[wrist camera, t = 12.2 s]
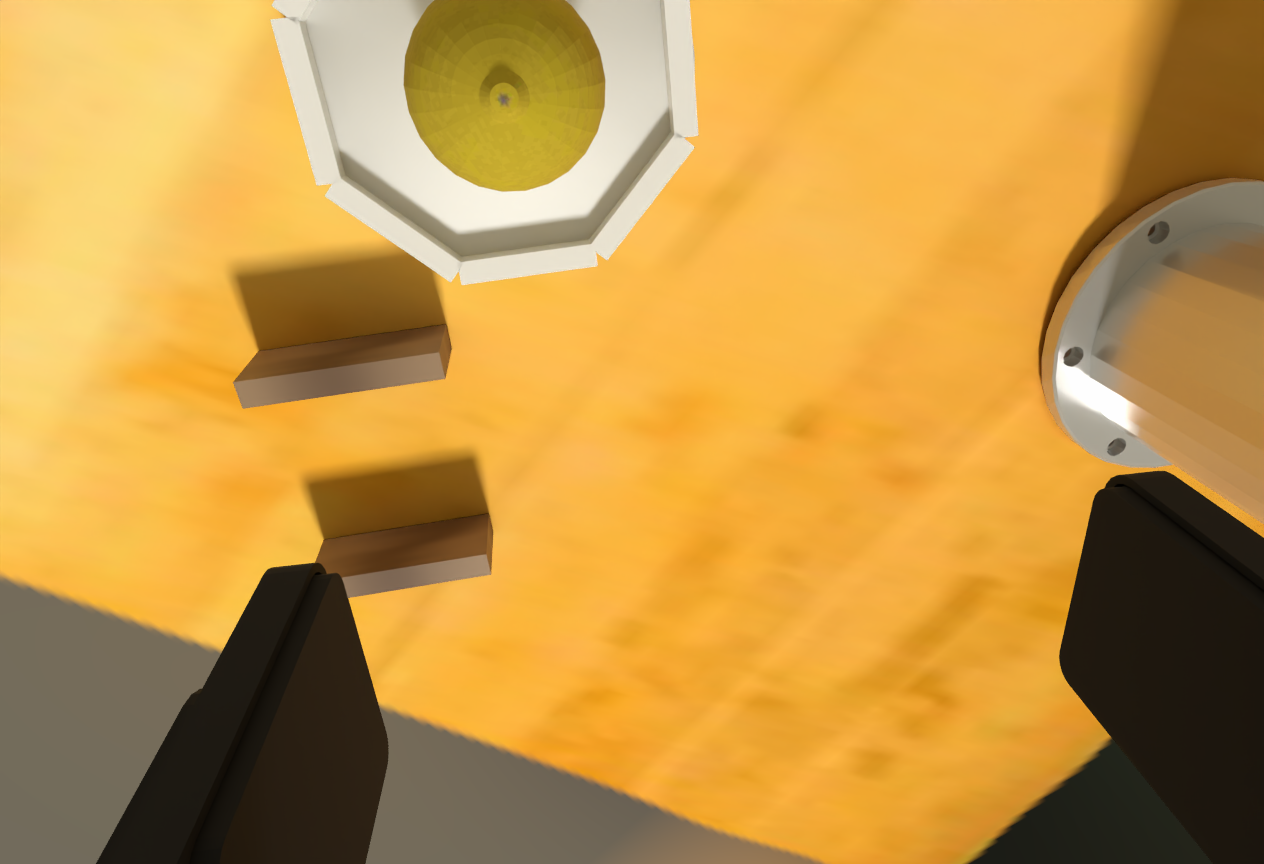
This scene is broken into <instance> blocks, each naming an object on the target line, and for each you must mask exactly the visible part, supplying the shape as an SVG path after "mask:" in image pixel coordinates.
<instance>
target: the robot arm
mask: <svg viewBox="0 0 1264 864" xmlns="http://www.w3.org/2000/svg"><path fill="white" fill-rule="evenodd" d="M1042 386H1043V390H1044V395H1045V399H1046V403H1047V406H1048V408H1049V410H1050V412H1051V414H1052V416H1053V418H1054V420H1055V422H1056V424H1057V425H1058V426H1059V427H1060V428H1061V429H1062V430H1063V432H1064V433H1065V434H1066V435H1067V436H1068V437H1069V438H1070V439H1071V440H1072V441H1074V442H1075V443H1076V444H1078V445H1079V446H1081V447H1082V448H1083V449H1085V450H1086V451H1087V452H1088V453H1090V454H1092V455H1094V456H1095V457H1097V458H1099V459H1101V460H1103V461H1106V462H1108V463H1112V464H1117V465H1122V466H1126V467H1131V468H1156V467H1162V466H1168V465H1175V466H1176V467H1178V468H1179V469H1181V470H1182V471H1184V472H1185V473H1187V474H1188V475H1190V476H1191V477H1193V478H1195V479H1196V480H1198V481H1199V482H1201V483H1202V484H1204V485H1205V486H1207V487H1208V488H1210V489H1211V490H1213V491H1214V492H1216V493H1217V494H1219V495H1220V496H1222V497H1223V498H1225V499H1226V500H1228V501H1229V502H1231V503H1232V504H1234V505H1235V506H1237V507H1238V508H1240V509H1241V510H1243V511H1245V512H1246V513H1248V514H1249V515H1251V516H1252V517H1254V518H1255V519H1257V520H1258V521H1260V522H1261V523H1263V524H1264V181H1261V180H1254V179H1241V178H1225V179H1218V180H1211V181H1204V182H1200V183H1197V184H1194V185H1191V186H1188V187H1185V188H1182V189H1179V190H1176V191H1173V192H1171V193H1169V194H1167V195H1165V196H1163V197H1161V198H1159V199H1157V200H1156V201H1154V202H1152V203H1150V204H1148V205H1146V206H1144V207H1143V208H1141V209H1140V210H1139V211H1137V212H1136V213H1134V214H1133V215H1132V216H1130V217H1129V218H1128V219H1126V220H1125V221H1124V222H1122V223H1121V224H1120V225H1118V226H1117V227H1116V228H1115V229H1114V230H1113V231H1112V232H1111V233H1110V234H1109V235H1107V236H1106V237H1105V238H1104V239H1103V240H1102V241H1101V242H1100V243H1099V244H1098V245H1097V246H1096V247H1095V248H1094V249H1093V250H1092V251H1091V253H1090V254H1089V255H1088V257H1087V258H1086V259H1085V261H1084V262H1083V263H1082V264H1081V266H1080V267H1079V268H1078V270H1077V271H1076V272H1075V274H1074V275H1073V276H1072V278H1071V280H1070V281H1069V283H1068V285H1067V287H1066V288H1065V290H1064V292H1063V294H1062V296H1061V297H1060V299H1059V301H1058V303H1057V305H1056V307H1055V310H1054V313H1053V316H1052V318H1051V321H1050V324H1049V326H1048V329H1047V332H1046V337H1045V342H1044V348H1043V353H1042ZM1059 659H1060V666H1061V670H1062V673H1063V675H1064V677H1065V679H1066V681H1067V682H1068V684H1069V685H1070V686H1071V688H1072V689H1073V690H1074V691H1075V693H1076V694H1077V695H1078V696H1079V698H1080V699H1081V700H1082V701H1083V703H1084V704H1085V705H1086V706H1087V707H1088V709H1089V710H1090V711H1091V712H1092V714H1093V715H1094V716H1095V717H1096V719H1097V720H1098V721H1099V722H1100V724H1101V725H1102V726H1103V727H1104V729H1105V730H1106V731H1107V732H1108V734H1109V735H1110V736H1111V737H1112V739H1113V740H1114V741H1115V742H1116V744H1117V745H1118V746H1119V747H1120V748H1121V750H1122V751H1123V752H1124V753H1125V755H1126V756H1127V757H1128V758H1129V760H1130V761H1131V762H1132V763H1133V765H1134V766H1135V767H1136V768H1137V770H1138V771H1139V772H1140V773H1141V775H1142V776H1143V777H1144V778H1145V780H1146V781H1147V782H1148V783H1149V785H1150V786H1151V787H1152V788H1153V790H1154V791H1155V792H1156V793H1157V795H1158V796H1159V797H1160V798H1161V800H1162V801H1163V802H1164V803H1165V804H1166V806H1167V807H1168V808H1169V809H1170V811H1171V812H1172V813H1173V814H1174V816H1175V817H1176V818H1177V819H1178V820H1179V822H1180V823H1181V824H1182V826H1183V827H1184V828H1185V829H1186V831H1187V832H1188V833H1189V834H1190V836H1191V837H1192V838H1193V839H1194V841H1195V842H1196V843H1197V844H1198V846H1199V847H1200V848H1201V849H1202V851H1203V852H1204V853H1205V854H1206V856H1207V857H1208V858H1209V859H1210V860H1211V862H1212V863H1213V864H1264V538H1263V537H1262V536H1260V535H1259V534H1257V533H1256V532H1254V531H1253V530H1252V529H1250V528H1249V527H1247V526H1246V525H1244V524H1243V523H1242V522H1240V521H1239V520H1237V519H1236V518H1234V517H1233V516H1232V515H1230V514H1229V513H1227V512H1226V511H1224V510H1223V509H1221V508H1220V507H1219V506H1217V505H1216V504H1214V503H1213V502H1211V501H1210V500H1209V499H1207V498H1206V497H1204V496H1203V495H1201V494H1200V493H1199V492H1197V491H1196V490H1194V489H1193V488H1191V487H1190V486H1189V485H1187V484H1186V483H1184V482H1183V481H1181V480H1180V479H1179V478H1177V477H1176V476H1174V475H1173V474H1170V473H1168V472H1166V471H1153V472H1144V473H1134V474H1125V475H1117V476H1115V477H1113V478H1111V479H1110V480H1109V481H1108V483H1107V484H1106V486H1105V488H1104V489H1101V490H1099V491H1098V492H1097V494H1096V495H1095V498H1094V500H1093V504H1092V509H1091V513H1090V518H1089V522H1088V527H1087V531H1086V536H1085V540H1084V545H1083V549H1082V554H1081V558H1080V563H1079V567H1078V572H1077V576H1076V581H1075V585H1074V590H1073V594H1072V599H1071V603H1070V608H1069V612H1068V617H1067V621H1066V626H1065V630H1064V635H1063V639H1062V644H1061V648H1060V655H1059ZM387 764H388V738H387V734H386V730H385V726H384V723H383V719H382V716H381V712H380V709H379V705H378V702H377V698H376V695H375V691H374V688H373V684H372V681H371V677H370V674H369V670H368V667H367V663H366V660H365V656H364V653H363V649H362V646H361V642H360V639H359V635H358V632H357V628H356V624H355V621H354V617H353V614H352V610H351V607H350V603H349V600H348V596H347V593H346V589H345V586H344V583H343V580H342V578H341V576H340V575H339V574H338V573H330V574H327V573H326V570H325V568H324V567H323V566H322V564H320V563H309V564H300V565H291V566H282V567H273V568H270V569H268V570H267V571H266V572H265V573H264V575H263V577H262V578H261V580H260V582H259V584H258V586H257V588H256V590H255V591H254V593H253V595H252V597H251V599H250V601H249V603H248V605H247V606H246V608H245V610H244V612H243V614H242V616H241V618H240V619H239V621H238V623H237V625H236V627H235V629H234V631H233V632H232V634H231V636H230V638H229V640H228V642H227V644H226V646H225V647H224V649H223V651H222V653H221V655H220V657H219V659H218V661H217V662H216V664H215V666H214V668H213V670H212V672H211V674H210V676H209V677H208V679H207V681H206V683H205V685H204V687H203V688H202V689H199V690H198V691H197V692H195V693H193V694H192V695H191V696H190V697H189V699H188V700H187V701H186V703H185V704H184V705H183V707H182V709H181V711H180V712H179V714H178V716H177V718H176V720H175V722H174V723H173V725H172V727H171V729H170V731H169V732H168V734H167V736H166V738H165V740H164V741H163V743H162V745H161V747H160V749H159V750H158V752H157V754H156V756H155V758H154V760H153V761H152V763H151V765H150V767H149V769H148V770H147V772H146V774H145V776H144V778H143V780H142V781H141V783H140V785H139V787H138V789H137V791H136V792H135V794H134V796H133V798H132V800H131V801H130V803H129V805H128V807H127V808H126V810H125V812H124V814H123V816H122V818H121V819H120V821H119V823H118V825H117V827H116V829H115V830H114V832H113V834H112V836H111V837H110V839H109V841H108V843H107V845H106V847H105V848H104V850H103V852H102V854H101V856H100V858H99V860H98V861H97V863H96V864H365V863H366V858H367V853H368V849H369V845H370V840H371V836H372V831H373V827H374V823H375V818H376V813H377V809H378V805H379V801H380V796H381V792H382V787H383V783H384V778H385V773H386V769H387Z"/></svg>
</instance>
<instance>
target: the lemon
mask: <svg viewBox="0 0 1264 864" xmlns="http://www.w3.org/2000/svg"><path fill="white" fill-rule="evenodd" d="M403 85H404V90H405V95H406V100H407V106H408V111H409V114H410V116H411V118H412V120H413V123H414V125H415V127H416V130H417V132H418V134H419V136H420V138H421V139H422V141H423V142H424V143H425V145H426V146H427V147H428V149H429V150H430V151H431V153H432V154H433V155H434V157H435V158H436V159H437V160H438V161H439V162H441V163H442V164H443V165H444V166H445V167H447V168H448V169H449V170H450V171H451V172H453V173H454V174H455V175H457V176H459V177H461V178H463V179H465V180H467V181H469V182H471V183H473V184H475V185H477V186H479V187H483V188H488V189H492V190H497V191H501V192H508V191H527V190H530V189H534V188H537V187H540V186H543V185H547V184H549V183H551V182H553V181H554V180H556V179H557V178H559V177H561V176H562V175H564V174H566V173H567V172H569V171H570V170H571V169H572V168H573V166H574V165H575V164H576V163H577V162H578V161H579V160H580V159H581V158H582V157H583V156H584V155H585V154H586V152H587V150H588V148H589V146H590V145H591V143H592V141H593V139H594V137H595V136H596V134H597V132H598V129H599V125H600V121H601V118H602V114H603V111H604V107H605V75H604V70H603V65H602V60H601V55H600V52H599V49H598V47H597V45H596V43H595V40H594V38H593V36H592V34H591V31H590V29H589V27H588V26H587V25H586V23H585V22H584V21H583V19H582V18H581V17H580V16H579V14H578V13H577V12H576V10H575V9H574V8H573V7H572V5H570V4H569V3H568V2H567V1H565V0H434V1H433V2H432V3H431V4H430V5H429V6H428V7H427V8H426V10H425V11H424V13H423V15H422V16H421V18H420V19H419V21H418V23H417V24H416V26H415V27H414V29H413V31H412V35H411V38H410V41H409V44H408V48H407V51H406V54H405V64H404V84H403Z"/></svg>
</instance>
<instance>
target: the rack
mask: <svg viewBox="0 0 1264 864" xmlns="http://www.w3.org/2000/svg"><path fill="white" fill-rule="evenodd" d="M451 349H452V348H451V344H450V339H449V335H448V330H447V326H446V324H444V325H437V326H430V327H423V328H417V329H410V330H403V331H396V332H389V333H382V334H375V335H368V336H361V337H354V338H347V339H340V340H333V341H326V342H319V343H312V344H305V345H298V346H291V347H284V348H277V349H270V350H263V351H258V353H257V354H256V355H255V356H254V357H253V359H252V360H251V361H250V362H249V364H248V365H247V366H246V367H245V368H244V370H243V371H242V372H241V373H240V375H239V376H238V377H237V378H236V379H235V381H234V382H233V383H234V386H235V389H236V391H237V394H238V397H239V399H240V402H241V405H242V408H243V409H244V408H250V407H257V406H264V405H271V404H278V403H284V402H291V401H298V400H305V399H311V398H318V397H325V396H332V395H339V394H345V393H352V392H359V391H366V390H372V389H379V388H386V387H393V386H400V385H406V384H413V383H420V382H427V381H433V380H440V379H445V377H446V373H447V368H448V363H449V359H450V354H451ZM492 547H493V530H492V525H491V521H490V516H489V514H483V515H477V516H471V517H465V518H458V519H452V520H446V521H439V522H433V523H427V524H420V525H414V526H408V527H402V528H395V529H389V530H383V531H376V532H370V533H364V534H358V535H351V536H345V537H339V538H332V539H326V540H324V541H323V544H322V546H321V549H320V551H319V554H318V557H317V559H316V562H315V563H320V564H322V566H323V567H324V568H325V570H326V573H327V574H330V573H338V574H339V575H340V576H341V578H342V580H343V583H344V586H345V589H346V593H347V596H348V598H350V597H357V596H363V595H369V594H375V593H381V592H387V591H393V590H399V589H405V588H412V587H418V586H424V585H430V584H436V583H442V582H448V581H454V580H460V579H466V578H473V577H479V576H485V575H491V566H492Z"/></svg>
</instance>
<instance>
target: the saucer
mask: <svg viewBox="0 0 1264 864" xmlns="http://www.w3.org/2000/svg"><path fill="white" fill-rule="evenodd" d="M433 1H434V0H274V2H273V4H272V6H273V7H274V8H276V9H277V10H278V11H279V12H281V13H282V14H283V15H285V16H286V18H280V19H272V20H270V21H271V24H272V28H273V31H274V35H275V38H276V42H277V46H278V49H279V53H280V56H281V60H282V63H283V67H284V70H285V74H286V78H287V81H288V85H289V88H290V92H291V95H292V99H293V102H294V106H295V110H296V113H297V117H298V120H299V124H300V127H301V131H302V135H303V138H304V142H305V145H306V149H307V152H308V156H309V159H310V163H311V167H312V170H313V174H314V177H315V181H316V184H317V185H325V184H332V185H331V187H330V188H329V190H328V192H327V193H326V195H325V197H327V198H328V199H330V200H331V201H332V202H334V203H335V204H337V205H338V206H340V207H341V208H343V209H344V210H346V211H347V212H349V213H350V214H351V215H353V216H354V217H356V218H357V219H359V220H360V221H362V222H363V223H365V224H366V225H368V226H369V227H370V228H372V229H373V230H375V231H376V232H378V233H379V234H381V235H382V236H384V237H385V238H387V239H388V240H390V241H391V242H392V243H394V244H395V245H397V246H398V247H400V248H401V249H403V250H404V251H406V252H407V253H409V254H410V255H411V256H413V257H414V258H416V259H417V260H419V261H420V262H422V263H423V264H425V265H426V266H428V267H429V268H430V269H432V270H433V271H435V272H436V273H438V274H439V275H441V276H442V277H444V278H445V279H447V280H448V281H449V282H451V281H452V280H453V278H454V277H455V276H456V274H457V273H458V271H459V274H460V279H461V284H462V285H466V284H473V283H480V282H487V281H495V280H502V279H509V278H516V277H523V276H530V275H537V274H544V273H552V272H559V271H566V270H573V269H580V268H587V267H594V266H598V265H597V257H596V252H597V253H598V254H599V255H601V256H602V257H603V258H604V259H606V260H608V259H609V257H610V256H611V255H612V253H613V252H614V251H615V250H616V248H617V247H618V246H619V244H620V243H621V242H622V241H623V239H624V238H625V237H626V235H627V234H628V233H629V232H630V230H631V229H632V228H633V226H634V225H635V224H636V222H637V221H638V220H639V219H640V217H641V216H642V215H643V213H644V212H645V211H646V210H647V208H648V207H649V206H650V205H651V204H652V202H653V201H654V199H655V198H656V197H657V195H658V194H659V193H660V192H661V190H662V189H663V188H664V186H665V185H666V184H667V182H668V181H669V180H670V179H671V177H672V176H673V175H674V173H675V172H676V171H677V170H678V168H679V167H680V166H681V164H682V163H683V162H684V161H685V159H686V158H687V157H688V155H689V154H690V153H691V151H692V150H693V149H694V148H695V147H694V146H693V145H691V144H690V143H689V142H688V141H687V140H686V139H685V137H692V136H698V122H697V107H696V92H695V58H694V47H693V39H692V30H691V15H690V0H565V1H567V2H568V3H569V4H570V5H572V7H573V8H574V9H575V10H576V12H577V13H578V14H579V16H580V17H581V18H582V19H583V21H584V22H585V23H586V25H587V26H588V27H589V29H590V31H591V34H592V36H593V38H594V40H595V43H596V45H597V47H598V49H599V52H600V55H601V60H602V65H603V70H604V75H605V107H604V111H603V114H602V118H601V121H600V125H599V129H598V132H597V134H596V136H595V137H594V139H593V141H592V143H591V145H590V146H589V148H588V150H587V152H586V154H585V155H584V156H583V157H582V158H581V159H580V160H579V161H578V162H577V163H576V164H575V165H574V166H573V168H572V169H571V170H570V171H569V172H567V173H566V174H564V175H562V176H561V177H559V178H557V179H556V180H554V181H553V182H551V183H549V184H547V185H543V186H540V187H537V188H534V189H530V190H527V191H508V192H501V191H497V190H492V189H488V188H483V187H479V186H477V185H475V184H473V183H471V182H469V181H467V180H465V179H463V178H461V177H459V176H457V175H455V174H454V173H453V172H451V171H450V170H449V169H448V168H447V167H445V166H444V165H443V164H442V163H441V162H439V161H438V160H437V159H436V158H435V157H434V155H433V154H432V153H431V151H430V150H429V149H428V147H427V146H426V145H425V143H424V142H423V141H422V139H421V138H420V136H419V134H418V132H417V130H416V127H415V125H414V123H413V120H412V118H411V116H410V114H409V111H408V106H407V100H406V95H405V90H404V85H403V84H404V64H405V54H406V51H407V48H408V44H409V41H410V38H411V35H412V31H413V29H414V27H415V26H416V24H417V23H418V21H419V19H420V18H421V16H422V15H423V13H424V11H425V10H426V8H427V7H428V6H429V5H430V4H431V3H432V2H433Z"/></svg>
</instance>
